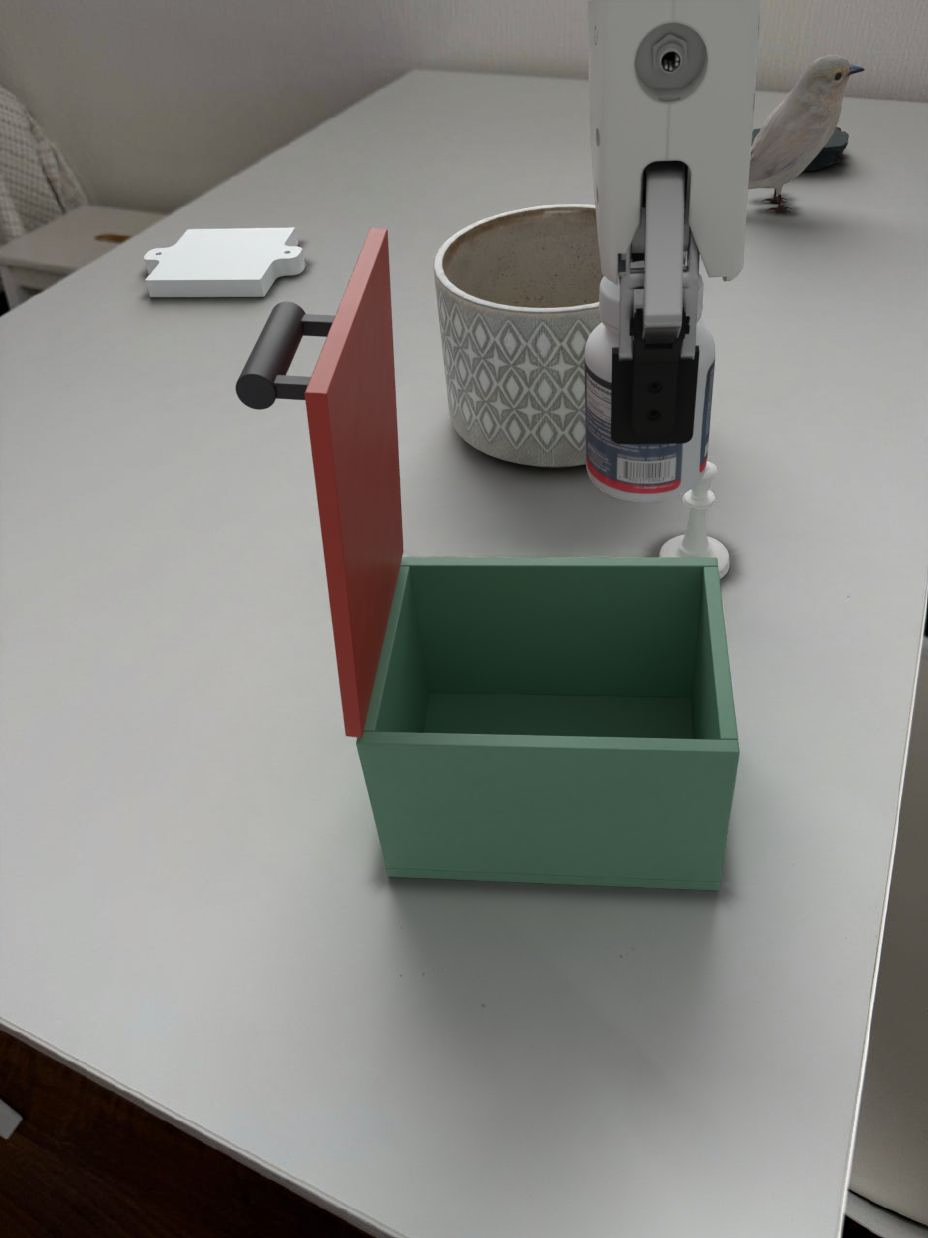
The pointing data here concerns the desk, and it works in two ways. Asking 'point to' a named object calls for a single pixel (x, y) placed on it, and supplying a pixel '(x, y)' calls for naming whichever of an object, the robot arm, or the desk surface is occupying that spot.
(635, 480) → the pill bottle
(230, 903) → the desk surface
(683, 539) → the chess piece
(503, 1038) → the desk surface
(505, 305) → the planter
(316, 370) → the lid
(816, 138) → the bird
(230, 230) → the mounting plate
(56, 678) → the desk surface
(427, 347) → the desk surface
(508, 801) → the box
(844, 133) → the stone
